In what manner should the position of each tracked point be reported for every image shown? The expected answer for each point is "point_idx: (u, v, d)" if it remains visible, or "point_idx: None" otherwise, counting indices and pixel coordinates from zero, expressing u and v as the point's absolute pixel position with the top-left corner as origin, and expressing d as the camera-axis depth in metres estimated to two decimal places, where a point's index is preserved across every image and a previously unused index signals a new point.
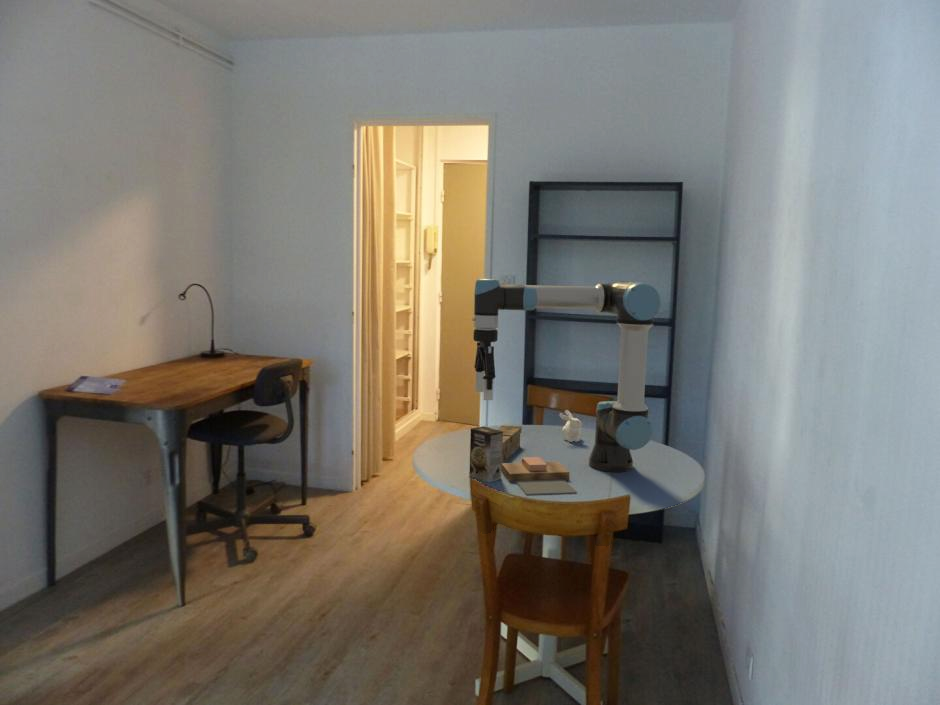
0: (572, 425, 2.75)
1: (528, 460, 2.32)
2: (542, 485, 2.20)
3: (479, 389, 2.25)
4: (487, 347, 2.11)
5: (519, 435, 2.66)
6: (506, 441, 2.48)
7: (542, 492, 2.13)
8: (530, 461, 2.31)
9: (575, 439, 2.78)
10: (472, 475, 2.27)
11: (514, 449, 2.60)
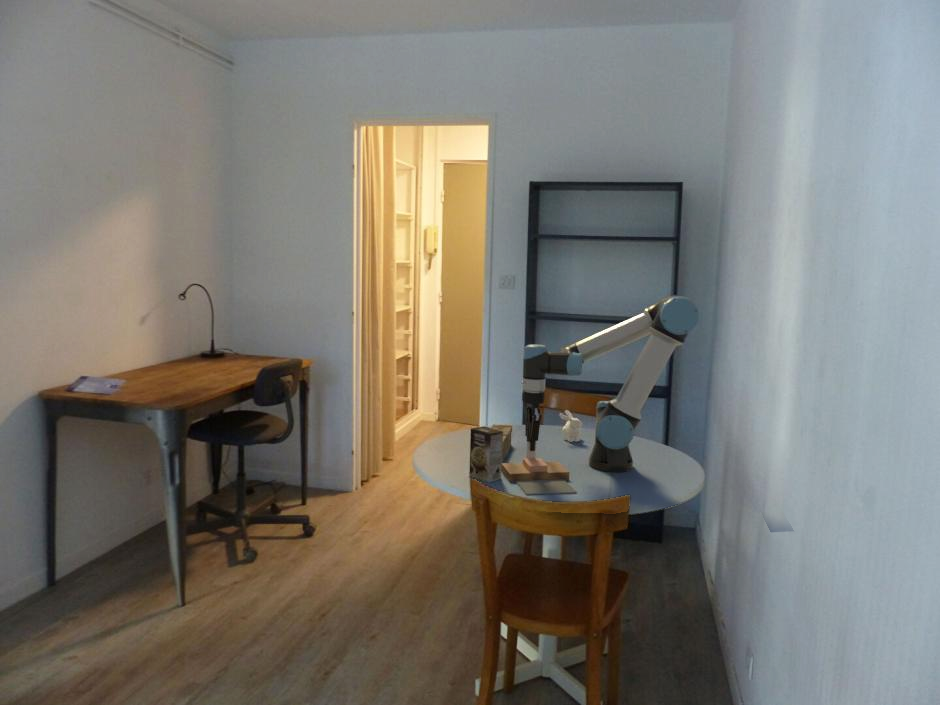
0: (572, 425, 2.75)
1: (529, 461, 2.31)
2: (542, 485, 2.20)
3: None
4: (535, 417, 2.28)
5: None
6: (504, 440, 2.49)
7: (542, 492, 2.13)
8: (531, 462, 2.30)
9: (575, 439, 2.78)
10: (472, 475, 2.27)
11: (508, 448, 2.61)
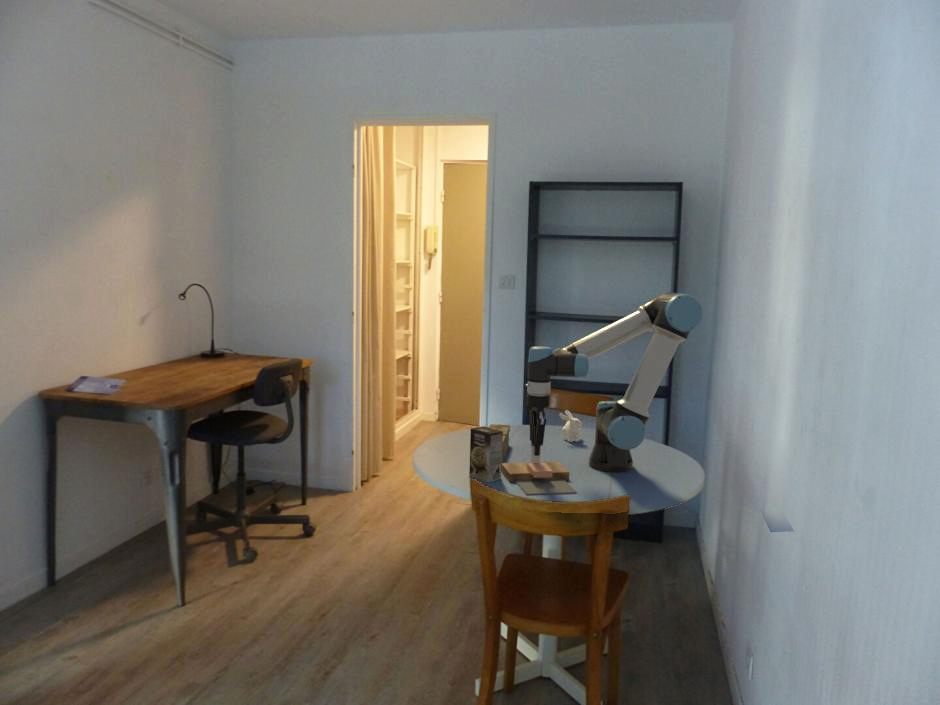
0: (572, 425, 2.75)
1: (534, 466, 2.25)
2: (542, 485, 2.20)
3: None
4: (540, 420, 2.22)
5: (508, 434, 2.68)
6: (504, 440, 2.49)
7: (542, 492, 2.13)
8: (535, 467, 2.24)
9: (575, 439, 2.78)
10: (472, 475, 2.27)
11: None
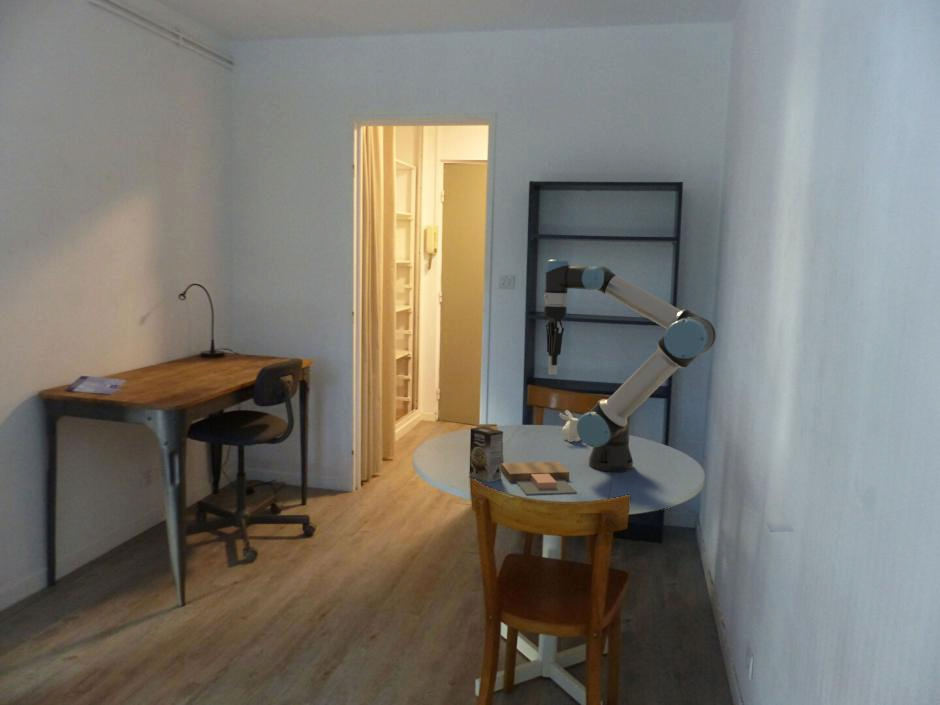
0: (572, 425, 2.75)
1: (537, 477, 2.21)
2: None
3: None
4: (558, 329, 2.31)
5: None
6: None
7: (542, 492, 2.13)
8: (539, 478, 2.20)
9: (575, 439, 2.78)
10: (472, 475, 2.27)
11: None
